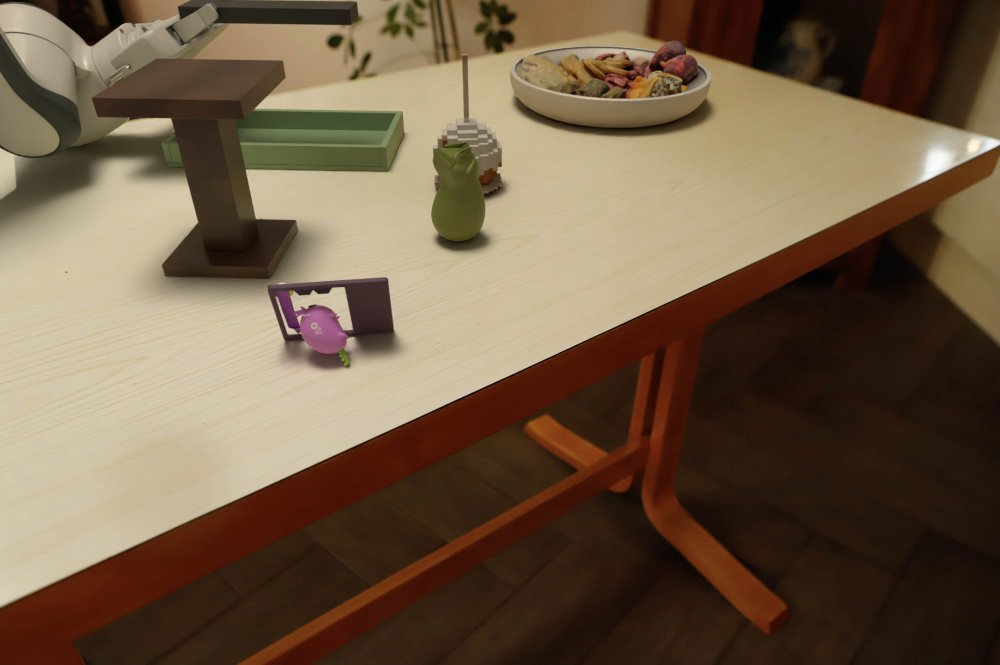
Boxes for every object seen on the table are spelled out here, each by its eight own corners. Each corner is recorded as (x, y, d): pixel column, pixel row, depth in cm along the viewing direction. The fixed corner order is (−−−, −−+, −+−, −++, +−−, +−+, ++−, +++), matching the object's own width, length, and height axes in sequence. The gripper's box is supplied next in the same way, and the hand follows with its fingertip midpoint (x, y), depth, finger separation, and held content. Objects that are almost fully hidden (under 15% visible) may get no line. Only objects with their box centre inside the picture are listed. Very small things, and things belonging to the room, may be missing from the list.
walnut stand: (149, 281, 67) (90, 97, 57) (198, 223, 77) (155, 58, 67) (277, 284, 67) (239, 100, 57) (310, 225, 77) (283, 60, 67)
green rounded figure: (494, 242, 74) (494, 147, 68) (449, 255, 71) (445, 158, 66) (466, 221, 78) (464, 130, 72) (423, 233, 75) (417, 140, 70)
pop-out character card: (387, 269, 56) (267, 277, 55) (390, 323, 53) (263, 333, 52) (393, 321, 61) (284, 329, 60) (396, 373, 58) (282, 382, 57)
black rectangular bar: (180, 22, 84) (177, 6, 83) (195, 15, 88) (192, -1, 87) (351, 25, 83) (349, 8, 82) (358, 17, 87) (357, 1, 86)
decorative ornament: (434, 174, 88) (427, 46, 79) (497, 172, 89) (498, 44, 80) (435, 201, 82) (428, 65, 73) (503, 199, 82) (504, 63, 74)
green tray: (167, 167, 90) (161, 143, 88) (208, 129, 101) (203, 107, 99) (388, 171, 89) (385, 147, 87) (404, 133, 100) (402, 111, 98)
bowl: (583, 150, 95) (588, 90, 90) (475, 91, 116) (474, 39, 112) (748, 114, 107) (759, 59, 103) (623, 66, 128) (628, 19, 124)
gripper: (77, 62, 79) (168, -5, 75) (157, 22, 96) (235, -35, 92) (120, 112, 82) (210, 50, 78) (190, 64, 99) (268, 11, 95)
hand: (224, 4), depth 85 cm, fingers closed on black rectangular bar, 4 cm apart
